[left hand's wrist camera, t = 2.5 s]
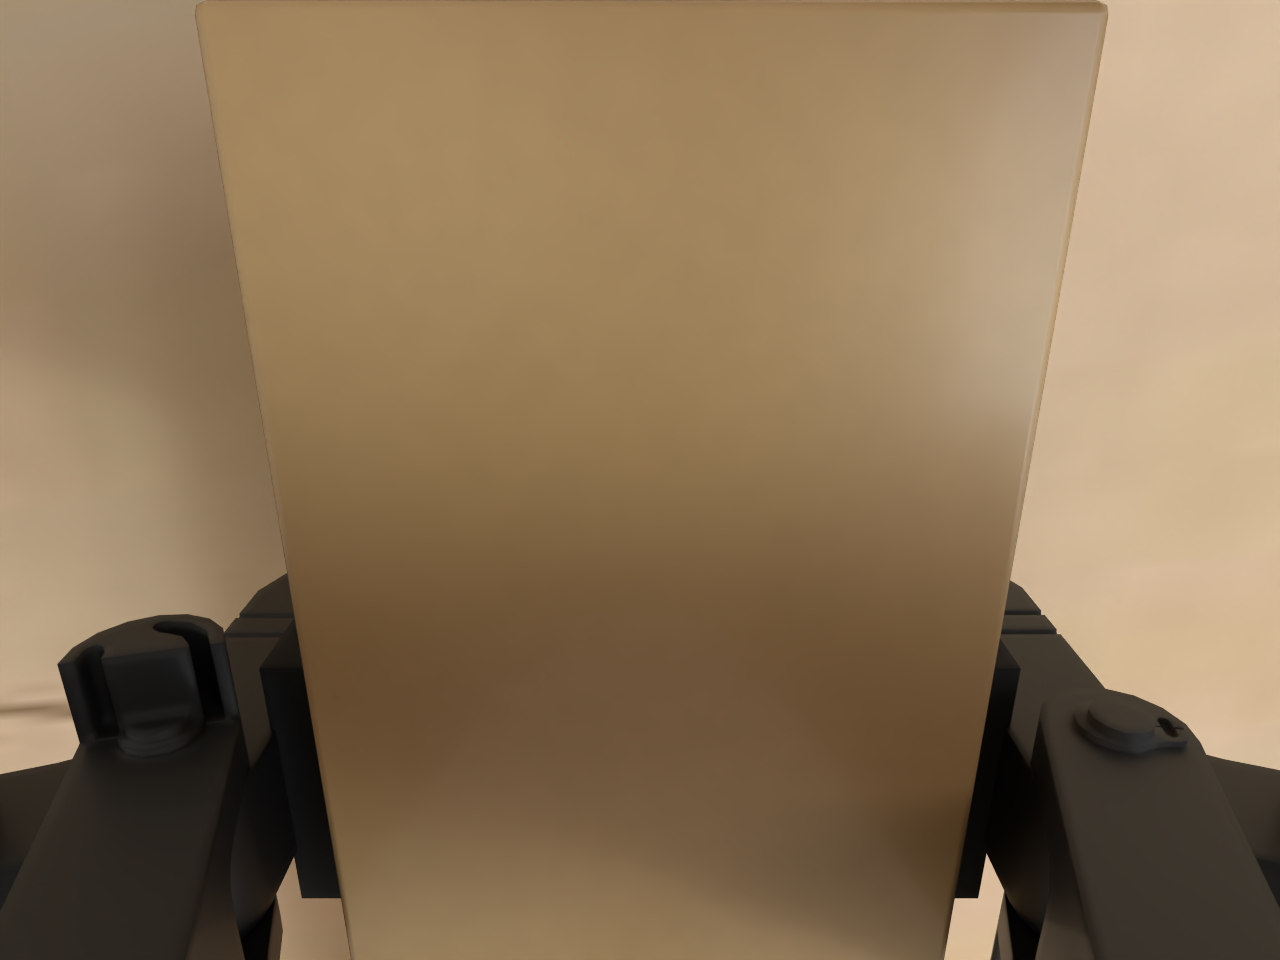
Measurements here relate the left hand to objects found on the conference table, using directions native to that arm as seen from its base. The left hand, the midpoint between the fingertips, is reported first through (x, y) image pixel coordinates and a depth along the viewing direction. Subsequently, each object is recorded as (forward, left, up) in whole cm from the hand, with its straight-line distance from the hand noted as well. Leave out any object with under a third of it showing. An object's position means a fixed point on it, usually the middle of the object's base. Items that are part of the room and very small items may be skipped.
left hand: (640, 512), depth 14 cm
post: (+19, +14, -1) cm, 24 cm away
